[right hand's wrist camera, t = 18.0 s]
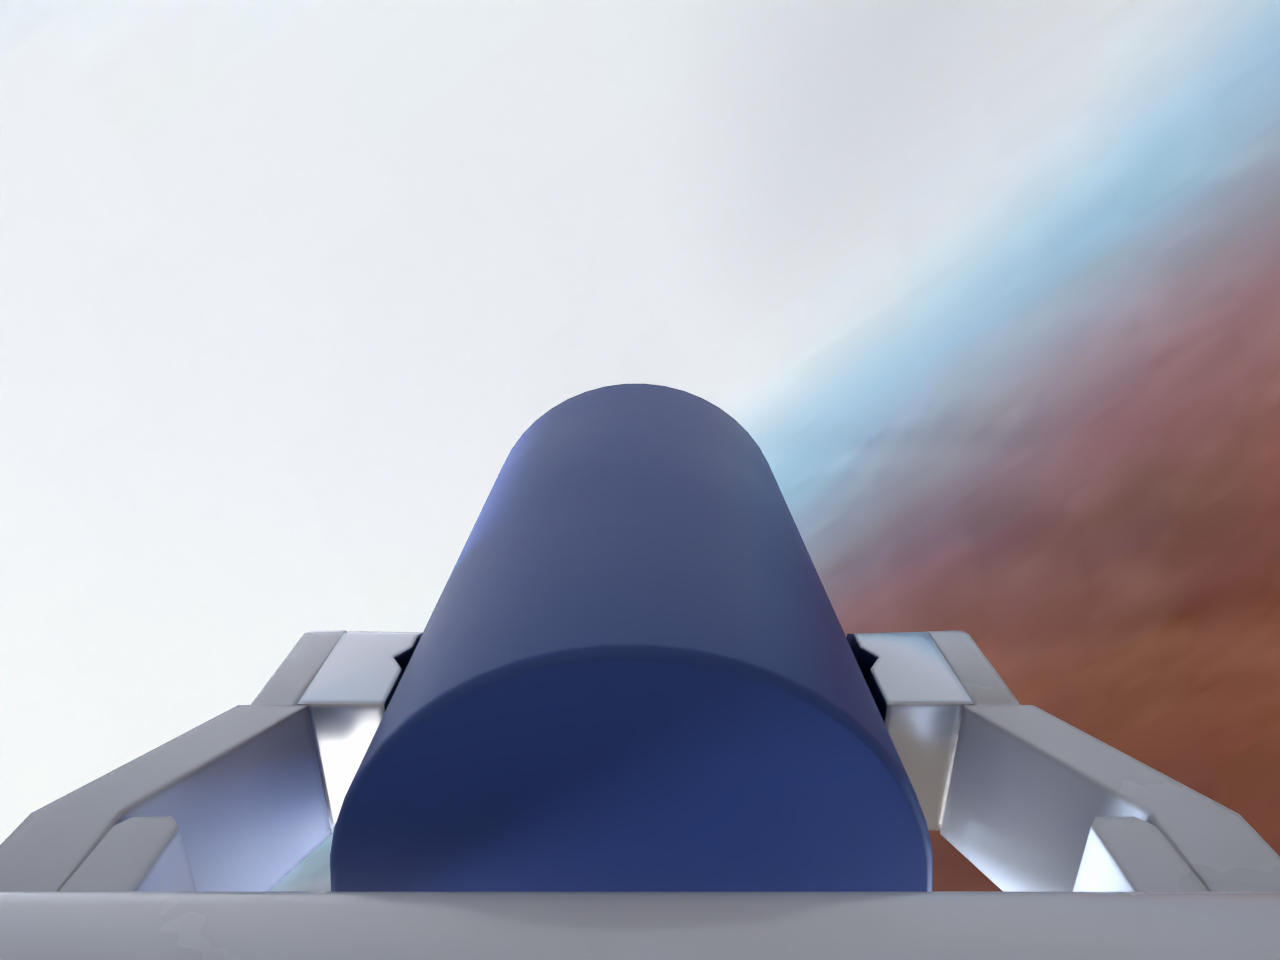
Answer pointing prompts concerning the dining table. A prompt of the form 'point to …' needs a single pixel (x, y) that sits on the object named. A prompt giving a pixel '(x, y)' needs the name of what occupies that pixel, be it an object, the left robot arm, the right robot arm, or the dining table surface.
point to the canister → (632, 686)
